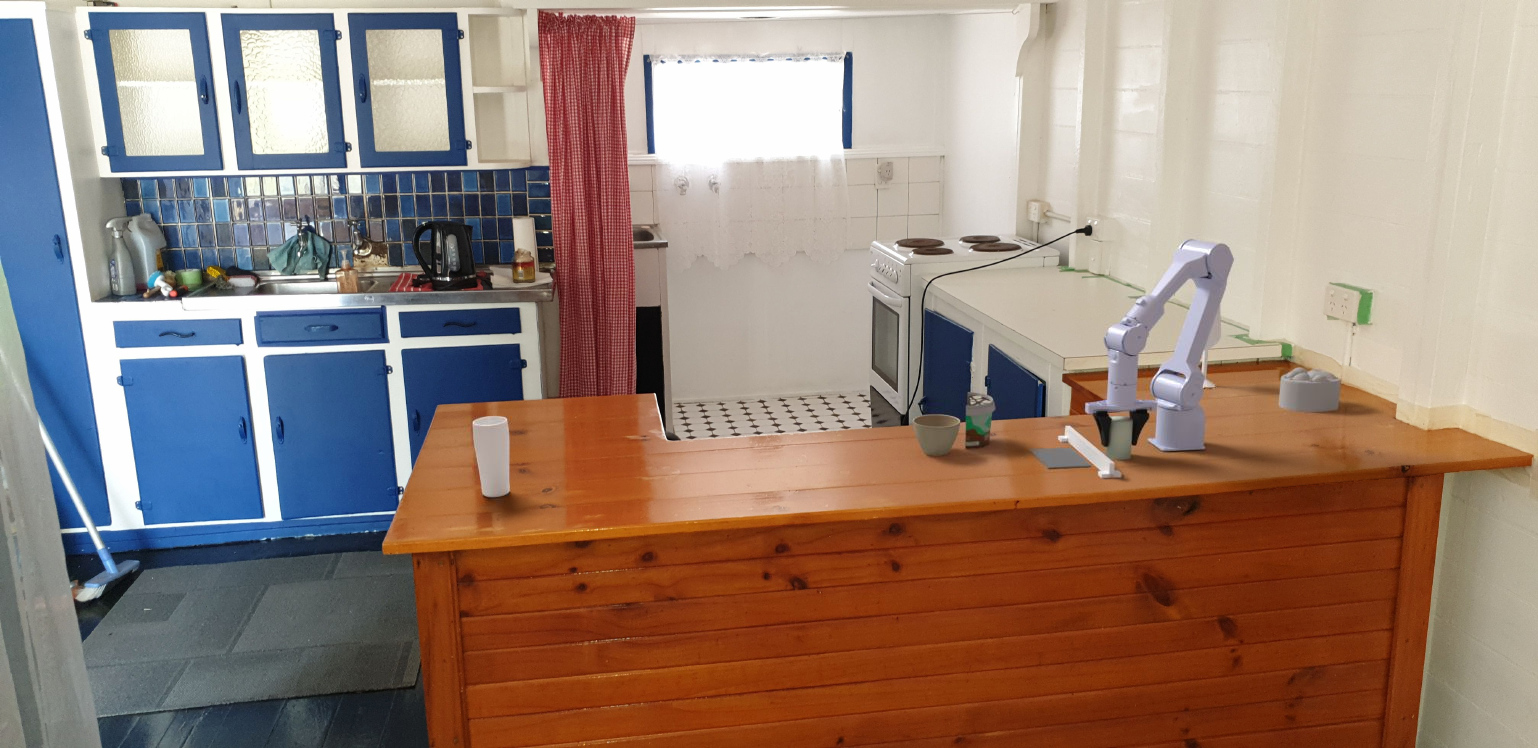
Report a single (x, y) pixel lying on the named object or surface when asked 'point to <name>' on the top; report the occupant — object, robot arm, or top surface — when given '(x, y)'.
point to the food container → (978, 420)
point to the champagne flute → (1212, 340)
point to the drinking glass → (492, 454)
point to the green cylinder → (1120, 438)
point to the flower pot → (936, 433)
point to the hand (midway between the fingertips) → (1118, 444)
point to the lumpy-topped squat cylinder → (1309, 391)
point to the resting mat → (1060, 458)
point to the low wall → (1090, 453)
